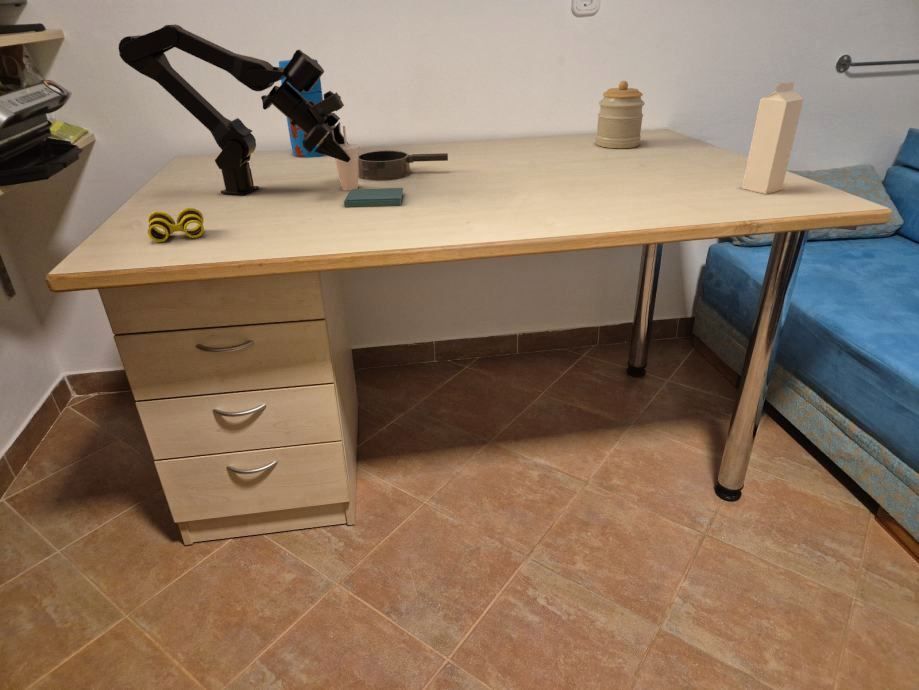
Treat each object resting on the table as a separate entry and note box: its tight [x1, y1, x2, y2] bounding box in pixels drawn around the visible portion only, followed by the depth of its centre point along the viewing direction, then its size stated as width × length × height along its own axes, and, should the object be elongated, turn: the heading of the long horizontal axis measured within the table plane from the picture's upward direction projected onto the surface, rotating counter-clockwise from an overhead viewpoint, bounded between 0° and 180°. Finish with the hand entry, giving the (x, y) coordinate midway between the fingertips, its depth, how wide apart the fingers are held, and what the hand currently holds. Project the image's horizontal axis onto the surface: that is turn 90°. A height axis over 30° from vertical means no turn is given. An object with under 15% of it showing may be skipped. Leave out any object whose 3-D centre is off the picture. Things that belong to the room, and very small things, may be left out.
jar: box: [595, 80, 646, 149], centre depth 176 cm, size 13×13×18 cm
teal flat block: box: [343, 187, 404, 208], centre depth 133 cm, size 12×9×2 cm
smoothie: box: [334, 125, 360, 191], centre depth 139 cm, size 6×6×14 cm
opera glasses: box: [147, 207, 205, 243], centre depth 113 cm, size 10×5×5 cm, turn 110°
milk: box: [741, 81, 804, 195], centre depth 129 cm, size 6×6×22 cm
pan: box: [358, 150, 411, 181], centre depth 153 cm, size 13×13×4 cm
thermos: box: [278, 59, 325, 158], centre depth 172 cm, size 11×11×25 cm
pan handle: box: [409, 152, 449, 164], centre depth 153 cm, size 10×2×2 cm, turn 91°
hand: (351, 157), depth 139 cm, fingers closed on smoothie, 6 cm apart
